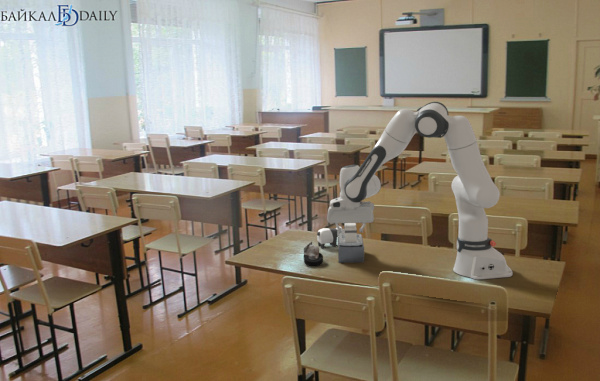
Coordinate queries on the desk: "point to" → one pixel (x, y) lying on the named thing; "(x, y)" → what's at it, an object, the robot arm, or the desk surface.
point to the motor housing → (350, 250)
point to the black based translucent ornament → (312, 256)
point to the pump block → (350, 232)
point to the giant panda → (328, 236)
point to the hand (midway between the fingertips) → (350, 232)
